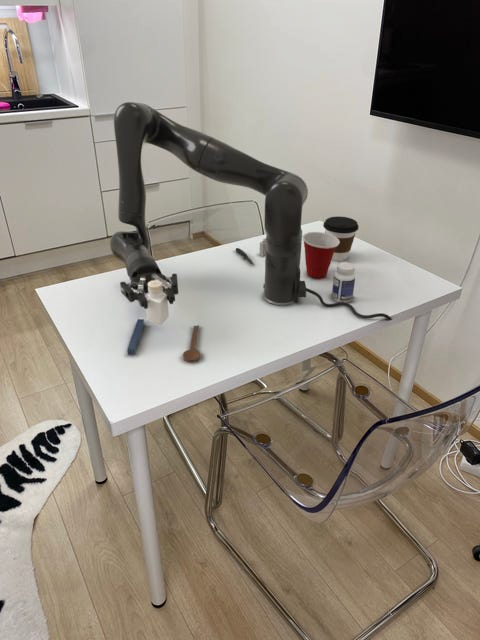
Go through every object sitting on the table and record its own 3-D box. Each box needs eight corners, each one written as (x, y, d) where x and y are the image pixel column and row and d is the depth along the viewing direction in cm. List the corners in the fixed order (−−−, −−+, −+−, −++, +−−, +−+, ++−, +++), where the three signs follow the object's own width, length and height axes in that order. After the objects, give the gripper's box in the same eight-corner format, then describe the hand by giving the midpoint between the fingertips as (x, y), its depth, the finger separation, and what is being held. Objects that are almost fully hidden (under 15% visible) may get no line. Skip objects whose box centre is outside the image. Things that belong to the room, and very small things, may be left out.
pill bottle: (354, 295, 137) (359, 263, 132) (349, 305, 132) (354, 272, 127) (334, 291, 139) (338, 259, 134) (328, 300, 134) (332, 267, 129)
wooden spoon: (204, 328, 122) (204, 325, 122) (200, 362, 110) (199, 359, 110) (188, 328, 122) (188, 325, 122) (182, 362, 110) (182, 359, 110)
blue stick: (144, 324, 123) (144, 319, 123) (134, 354, 112) (134, 349, 112) (138, 324, 123) (137, 319, 123) (127, 354, 112) (127, 349, 112)
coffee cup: (357, 264, 154) (362, 228, 148) (322, 264, 154) (326, 228, 148) (350, 250, 163) (355, 216, 157) (318, 250, 163) (321, 215, 157)
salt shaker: (146, 322, 113) (142, 285, 108) (154, 313, 116) (151, 277, 111) (161, 325, 112) (158, 289, 107) (169, 316, 115) (167, 281, 110)
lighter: (262, 256, 159) (263, 233, 154) (259, 254, 160) (259, 231, 155) (278, 250, 163) (279, 227, 158) (274, 248, 164) (275, 226, 159)
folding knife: (254, 267, 152) (254, 261, 151) (251, 267, 152) (251, 261, 151) (237, 251, 162) (237, 245, 161) (234, 251, 162) (234, 246, 161)
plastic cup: (334, 285, 142) (339, 247, 136) (297, 281, 144) (300, 243, 138) (336, 269, 151) (340, 232, 145) (301, 265, 153) (304, 229, 147)
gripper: (111, 260, 118) (124, 293, 104) (170, 252, 122) (189, 282, 109) (115, 288, 122) (128, 323, 108) (171, 278, 126) (190, 311, 113)
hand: (159, 302), depth 109 cm, fingers closed on salt shaker, 5 cm apart
